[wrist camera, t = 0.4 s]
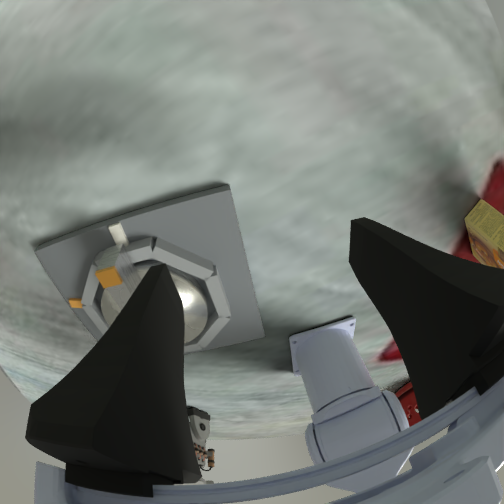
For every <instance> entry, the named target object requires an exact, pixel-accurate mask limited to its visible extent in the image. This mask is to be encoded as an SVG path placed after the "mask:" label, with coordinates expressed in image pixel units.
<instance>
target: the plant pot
mask: <svg viewBox="0 0 504 504" xmlns="http://www.w3.org/2000/svg"><path fill="white" fill-rule="evenodd" d="M395 395H396V397H397V398H398V400H399V402H400V404H401V406H402V408H403V410H404V412H405V415H406V417H407V420H408V423H409V427H411V426H413V425H414V424H416V423H418V422H420V421H422V420H421V418H420V415H419V413H417V412H416V411H415V409H418V406H417V402H416V398H415V394H414V390H413V387H412V383H411V381H410V382H409V383H407V384H406V385H404V386H403V387H402V388H400V389H399V390H398V391H397V392H396V394H395ZM409 417H410V418H409Z"/></svg>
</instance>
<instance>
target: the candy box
mask: <svg viewBox="0 0 504 504" xmlns="http://www.w3.org/2000/svg"><path fill="white" fill-rule="evenodd" d="M464 220H465V223H466V228H467V231H468V235H469V240H470V244H471V248H472V253H473V256H474V257H476V258H477V259H478V260H479V261H480V262H481V263H482V264H483V265H487V266H491V267H496V268H501V269H504V215H502V214H501V213H500V212H499V211H497V210H496V209H495V208H493V207H492V206H491V205H489V204H488V203H486V202H485V201H484V200H482V199H480V200H479V201H478V203H477V204H476V205H475V207H474V208H473V209H472V210H471V211H470V212H469V214H468V215H467V216H466V217H465V218H464Z"/></svg>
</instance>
